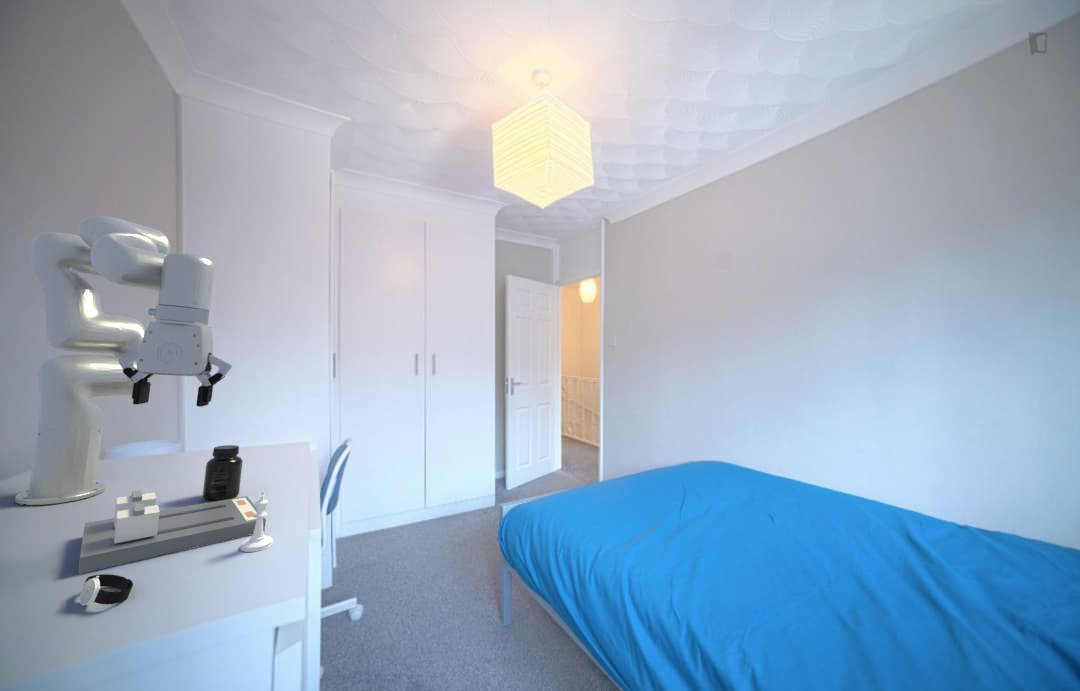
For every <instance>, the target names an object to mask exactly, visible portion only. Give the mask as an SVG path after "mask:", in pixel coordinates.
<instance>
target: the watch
mask: <svg viewBox="0 0 1080 691" xmlns="http://www.w3.org/2000/svg"><path fill="white" fill-rule="evenodd" d="M133 586H134V583H133V580H131V579H130V578H128V579H127V578H126V577H125V576H122V575H121V576H120V575H117V574H108V573H107V574H106V573H105V574H104V573H103V574H94V575H91V576H87V578H86V580H85V581H84V583H83V587H82V588H81V590H80V594H79V604H81V606H90V605H91V604H92V603H93V604H95V603H96V604H99V605H115V604H118V603H123V602H124V601H126V600H127V599H129V596H130V594H131V591H132V589H133ZM101 587H104V588H105V587H106V588H114V589H118V591H117V590H116V591H111V590H110V591H109V590H103V589H101Z"/></svg>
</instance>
